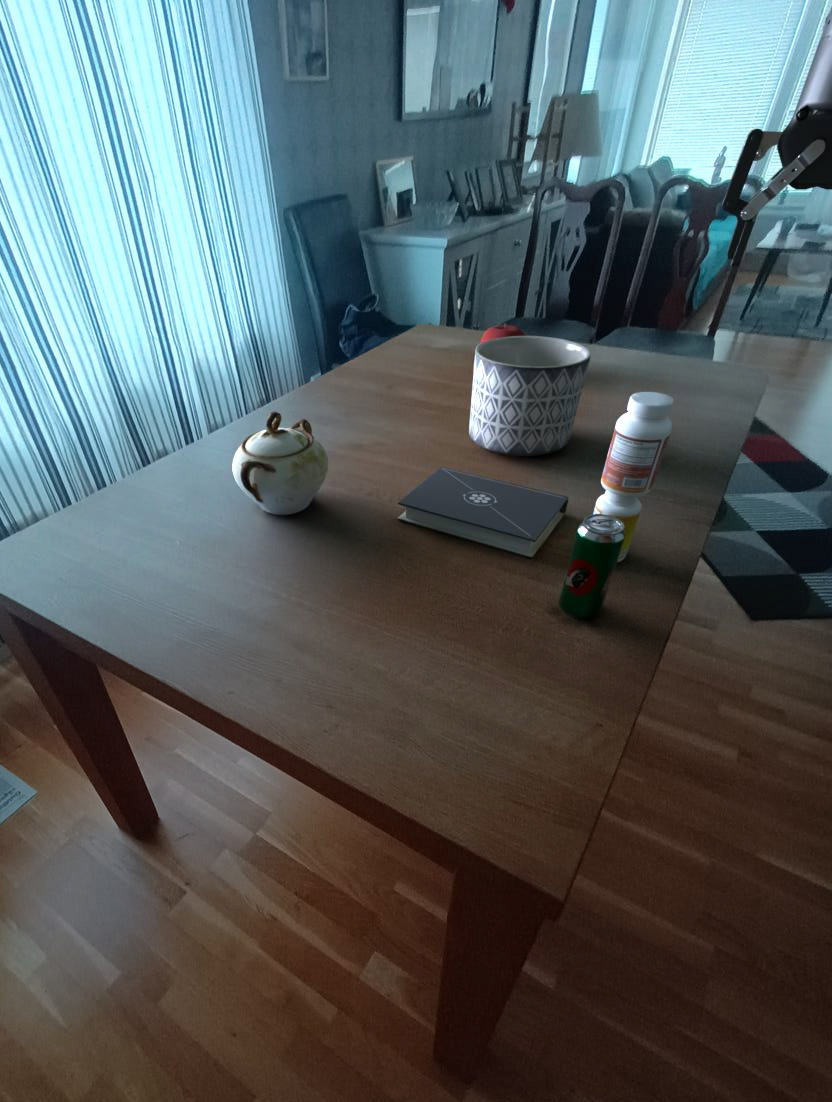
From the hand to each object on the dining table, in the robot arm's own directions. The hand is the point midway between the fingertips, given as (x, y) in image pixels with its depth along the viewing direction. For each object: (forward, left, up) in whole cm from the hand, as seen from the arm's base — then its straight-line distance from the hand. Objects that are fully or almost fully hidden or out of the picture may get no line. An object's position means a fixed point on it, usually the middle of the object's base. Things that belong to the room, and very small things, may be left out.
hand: (783, 267), depth 57 cm
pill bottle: (+6, +6, -24) cm, 25 cm away
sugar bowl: (+47, +34, -34) cm, 67 cm away
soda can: (0, +19, -34) cm, 39 cm away
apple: (+71, -40, -34) cm, 88 cm away
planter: (+40, -13, -34) cm, 54 cm away
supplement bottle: (+6, +6, -34) cm, 35 cm away
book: (+24, +12, -34) cm, 43 cm away
